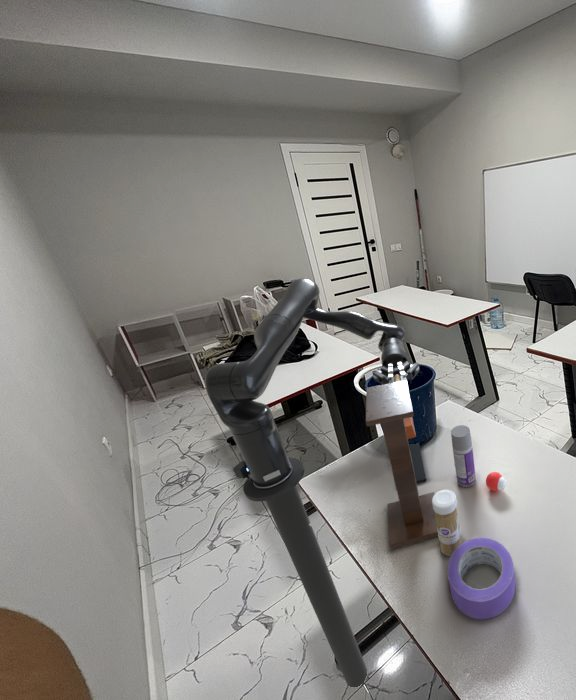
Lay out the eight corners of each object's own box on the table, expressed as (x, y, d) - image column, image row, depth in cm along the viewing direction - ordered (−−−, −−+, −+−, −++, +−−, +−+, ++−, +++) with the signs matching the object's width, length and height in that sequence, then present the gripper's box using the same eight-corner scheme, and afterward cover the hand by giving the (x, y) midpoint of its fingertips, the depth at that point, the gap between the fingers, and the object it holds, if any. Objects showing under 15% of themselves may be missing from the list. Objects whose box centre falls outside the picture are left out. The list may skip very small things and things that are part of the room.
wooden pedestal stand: (443, 537, 74) (421, 409, 61) (390, 552, 72) (356, 423, 59) (434, 494, 85) (414, 378, 72) (388, 506, 83) (358, 389, 70)
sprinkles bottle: (440, 558, 70) (431, 509, 65) (440, 537, 74) (432, 489, 69) (463, 555, 70) (456, 506, 65) (462, 535, 75) (455, 487, 69)
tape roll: (438, 580, 66) (434, 563, 64) (485, 543, 72) (484, 525, 70) (478, 636, 57) (475, 618, 55) (528, 588, 64) (528, 569, 62)
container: (472, 471, 91) (467, 423, 85) (478, 484, 87) (472, 434, 81) (455, 475, 90) (448, 427, 84) (459, 489, 86) (453, 439, 80)
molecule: (483, 491, 85) (482, 477, 83) (492, 477, 88) (491, 464, 87) (502, 498, 82) (501, 484, 81) (510, 484, 86) (510, 470, 84)
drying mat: (394, 447, 103) (394, 445, 102) (418, 441, 104) (418, 440, 104) (398, 487, 88) (398, 485, 88) (426, 480, 90) (425, 478, 89)
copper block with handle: (416, 436, 78) (411, 425, 76) (400, 441, 78) (395, 430, 76) (405, 379, 97) (401, 368, 96) (392, 383, 97) (388, 372, 95)
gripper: (419, 365, 109) (427, 393, 94) (373, 374, 107) (374, 404, 91) (415, 343, 106) (423, 368, 91) (368, 352, 104) (368, 379, 88)
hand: (398, 386), depth 91 cm, fingers closed on copper block with handle, 2 cm apart
